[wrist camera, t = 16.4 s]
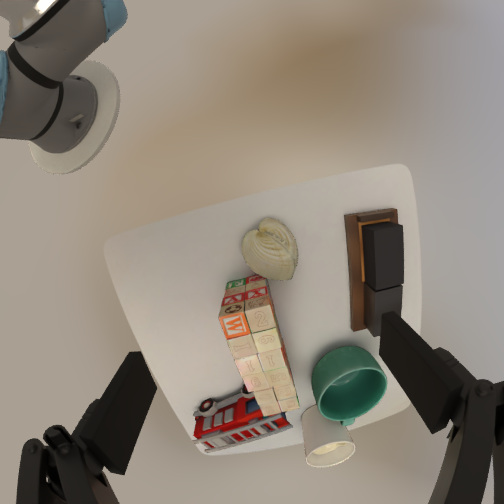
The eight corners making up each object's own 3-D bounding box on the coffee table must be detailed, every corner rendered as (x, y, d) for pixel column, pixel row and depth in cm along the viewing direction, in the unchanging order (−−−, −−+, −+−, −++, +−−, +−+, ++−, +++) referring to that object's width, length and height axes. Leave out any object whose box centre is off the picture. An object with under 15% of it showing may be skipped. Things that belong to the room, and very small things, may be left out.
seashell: (277, 200, 37) (319, 239, 35) (274, 230, 45) (308, 264, 43) (231, 234, 35) (273, 279, 33) (236, 260, 43) (270, 297, 40)
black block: (361, 225, 39) (373, 230, 35) (388, 220, 39) (402, 225, 35) (364, 280, 41) (375, 290, 37) (390, 274, 41) (403, 283, 37)
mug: (309, 341, 46) (321, 374, 36) (374, 333, 46) (395, 361, 36) (304, 405, 50) (311, 438, 40) (360, 396, 50) (374, 426, 40)
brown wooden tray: (344, 215, 40) (358, 220, 34) (392, 208, 40) (412, 212, 34) (350, 327, 45) (362, 345, 39) (394, 316, 45) (409, 331, 39)
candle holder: (349, 410, 51) (364, 448, 39) (316, 432, 52) (326, 471, 41) (323, 393, 49) (337, 436, 37) (288, 418, 50) (295, 460, 39)
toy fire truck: (292, 396, 49) (299, 433, 39) (217, 427, 51) (213, 461, 41) (268, 370, 47) (272, 407, 37) (191, 405, 49) (183, 440, 39)
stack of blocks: (293, 375, 47) (303, 422, 35) (260, 382, 47) (263, 430, 36) (264, 271, 42) (270, 304, 30) (225, 281, 43) (217, 317, 31)
